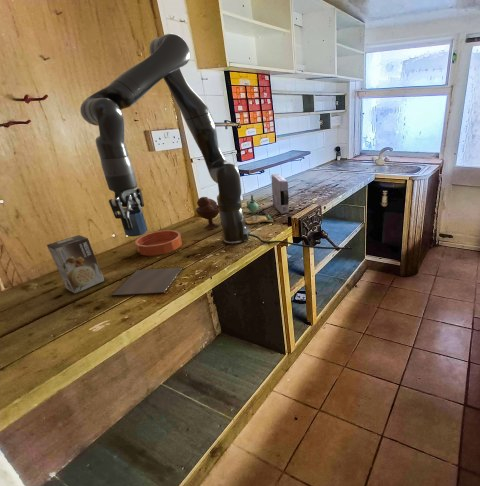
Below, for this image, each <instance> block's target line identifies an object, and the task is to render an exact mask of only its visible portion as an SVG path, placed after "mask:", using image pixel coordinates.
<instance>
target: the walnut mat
mask: <svg viewBox="0 0 480 486" xmlns="http://www.w3.org/2000/svg"><path fill="white" fill-rule="evenodd" d="M182 270H183V267H168V268H151V269H150V268H149V269H148V268H147V269H136V270H135V271H134V272H133V273H132V274H131V275H130V276H129V277H128V278H127V279H126V280H125V281H124V282H123V283H122V284H121V285H120V286H119V287H118V288H117V290H115V291H114V292H113V293H112V294H111V296H112V297H124V296H125V297H126V296H141V295H142V296H143V295H160V294H161V295H162V294H166V292H167V291H168V289H169V288H170V287H171V286H172V284H173V282H174V281H175V280H176V279H177V277H178V276H179V275H180V274H181V272H182Z"/></svg>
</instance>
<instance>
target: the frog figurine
mask: <svg viewBox="0 0 480 486" xmlns="http://www.w3.org/2000/svg"><path fill="white" fill-rule="evenodd" d="M260 209H261V212H262V213H263V211H264V210H263V209H262V207H260V206H259V205H258V203H257V202H256V201H255V199H254V194H251V195H250V201H247V202H246V208H245V207H242V210H245V211H244V214H246V213H248V212H251V213H250V214H249V215H248V217H244V218H245V223H246V224H249V225H251V224H258V223H262V222H264V223H274V222H275V220H273V218H272V216H270V215H269V213H268V212H267V213H266V215H263V214H262V213H260ZM255 212H256V213H257V214H256V213H255Z"/></svg>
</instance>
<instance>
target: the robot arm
mask: <svg viewBox="0 0 480 486" xmlns="http://www.w3.org/2000/svg"><path fill="white" fill-rule="evenodd" d="M148 50H149V54H150V55H149V56H148V57H146V58H145V59H143V60H142V61H140V62H139V63H136V64H135V65H134V66H132V67H130V68H128V69H127V70H126V71H124V72H122V73H121V74H120V75H119V76H118V77H116V78H115V79H114V80H112V82H110V83H109V84H108V85H107V86H106V87H103V88H101V89H100V90H98V91H96V92H94V93H93V94H90V96H88V97H86V98H85V99H83V101H82V103H81V104H80V109H79V110H80V115H81V117H82V119H83V120H84V121H85V122H87V124H89V125H92V126H96V127H98V133H99V136H97V137H95V147H96V150H97V152H98V155H99V159H100V164H101V169H102V172H103V176H104V179H105V181H106V184H107V188H108V190H109V191H111V192H114V197H113V198H112V199H111V198H110V199H108V203H109V206H110V208H111V210H112V213H113V216H114V218H115V219H120V221H121V220H122V222H121V224H122V223H123V225H122V227H123V226H124V228H123V230H124V229H125V230H132V229H133V226H132V223H131V219H130V218H129V217H130V211H131V210H135V209H139V210H142V211H143V207H145V202H144V198H143V193H142V189H141V188H139V187H138V182H137V177H136V174H135V170H134V166H133V164H132V161H131V158H130V156H129V153H128V149H127V145H126V143H125V119H124V115H123V112H122V110H124V109H129V108H131V107H132V106H134V105H135V104H136V103H137V102H138V101H139V100H140V99H142V98H143V97H144V96H145V95H146V94H147V93H148V92H150V90H151V89H153V87H154V86H156V85H157V84H158V83H159V82H160V81H161V80H164V82H165V84H166V85H167V87H168V89H169V91H170V93H171V95H172V97H173V99H174V101H175V103H176V105H177V107H178V109H179V111H180V113H181V115H182V117H183V119H184V122H185V124H186V126H187V129H188V130H189V132H190V133H191V136H192V138H193V140H194V141H195V144H196V145H197V147H198V149H199V151H200V153H201V155H202V158H203V160H204V162H205V165H206V168H207V171H208V174H209V176H210V178H211V179H212V181H213V182H215V183H216V184H217V189H218V195H216V203H217V205H218V208H219V213H218V214H219V219H220V225H221V231H222V237H223V243H224V244H227V245H237V244H241V243H245V242H246V241H249V239H250V237H253V238H255V239H257V240H259V241H260V242H261V243H264V244H277V243H279V244H287V245H290V246H296V247H303V248H309V249H318V250H319V249H322V250H352V249H353V247H352V246H342V247H341V246H317V245H308V244H301V243H296V242H291V241H284V240H263V239H261V237H260V236H258V235H256V234H252V233H250V229H249V228H247V225H246V222H245V218H246V217H245V216H244V215H243V207H242V199H241V196H242V183H241V176H240V171H239V169H238V167H237V166H236V165H235V164H234V163H231V162H228V161H227V160H226V158H225V157H224V155H223V152H222V150H221V148H220V144H219V139H218V133H217V126H216V123H215V121H214V118H213V116H212V113H211V112H210V109H209V107H208V105H207V104H206V103H205V101H204V100H203V99H202V97H200V95H198V94H197V93H196V91H194V90H193V88H192V87H191V86H190V85H189V83H188V82H187V79H186V78H185V76H184V74H183V72H182V69H181V68H183V67H185V66H186V65H187V64H188V63H189V61H190V59H191V51H190V47H189V44H188V43H187V41H186V40H185V39H184V38H183V37H182V36H180V35H179V34H176V33H166V34H163V35H161V36H158V37H156V38H154V39H152V40H151V41H150V43H149V49H148ZM137 187H138V188H137ZM124 211H126V214H125V213H124Z"/></svg>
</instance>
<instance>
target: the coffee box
mask: <svg viewBox="0 0 480 486" xmlns="http://www.w3.org/2000/svg"><path fill="white" fill-rule="evenodd" d="M46 247H47V250H48V251H49V253H50V256H51V258H52V260H53V262H54V264H55V267H56V269H57V270H58V273H59V275H60V277H61V279H62V282H63V284H64V287H65V289H67V290H68V291H70V292H71V293H73V294H78V293H79V292H82V291H85V290H87V289H89V288H92V287H93V286H94V287H95V286H96V285H98V284H101V283H103V282H105V278H104V275H103V273H102V270H101V268H100V265H99V263H98V259H97V257H96V255H95V253H94V250H93V247H92V245H91V243H90V240H89V238H88V237H86V236H84V235H80V234H77V235H75V236H71V237H68V238H65V239H62V240H58V241H55V242H52V243H48V244H46Z"/></svg>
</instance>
